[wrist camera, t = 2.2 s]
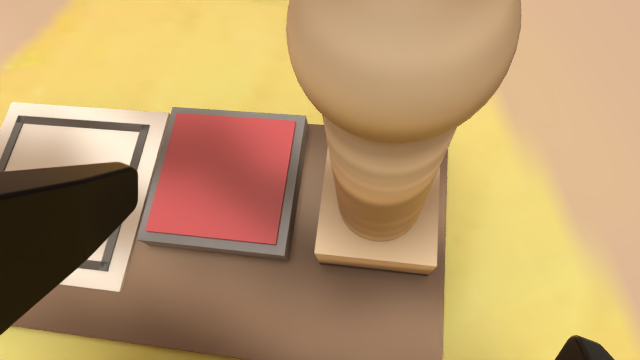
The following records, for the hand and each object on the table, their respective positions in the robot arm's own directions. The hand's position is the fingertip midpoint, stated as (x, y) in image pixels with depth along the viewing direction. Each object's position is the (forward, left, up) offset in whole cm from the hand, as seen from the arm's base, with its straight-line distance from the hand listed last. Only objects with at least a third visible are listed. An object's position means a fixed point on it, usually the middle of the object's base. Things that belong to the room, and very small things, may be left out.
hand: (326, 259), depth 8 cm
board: (+3, +7, -11) cm, 14 cm away
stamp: (+4, -1, -10) cm, 11 cm away
